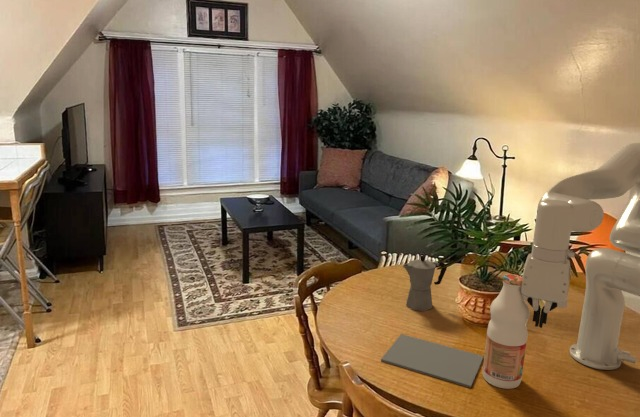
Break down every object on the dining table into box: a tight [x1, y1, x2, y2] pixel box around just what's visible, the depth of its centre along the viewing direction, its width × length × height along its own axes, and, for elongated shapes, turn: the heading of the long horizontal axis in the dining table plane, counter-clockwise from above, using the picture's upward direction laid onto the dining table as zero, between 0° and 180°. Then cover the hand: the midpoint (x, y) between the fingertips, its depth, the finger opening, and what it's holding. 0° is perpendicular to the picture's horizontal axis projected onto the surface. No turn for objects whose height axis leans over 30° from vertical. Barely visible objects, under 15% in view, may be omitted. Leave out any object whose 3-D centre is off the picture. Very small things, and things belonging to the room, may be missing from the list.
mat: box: [380, 333, 484, 389], centre depth 133 cm, size 24×16×1 cm, turn 61°
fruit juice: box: [482, 273, 531, 390], centre depth 122 cm, size 9×9×28 cm
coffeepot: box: [402, 255, 448, 312], centre depth 164 cm, size 15×9×18 cm, turn 99°
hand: (538, 324), depth 117 cm, fingers closed
